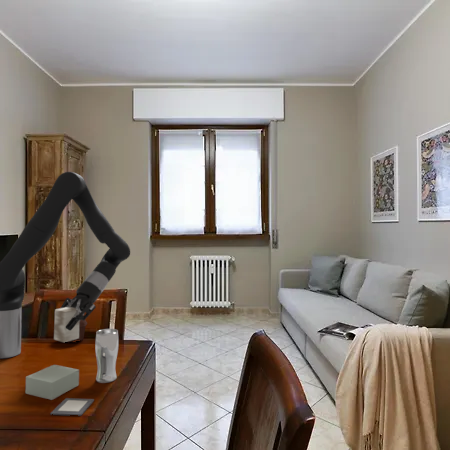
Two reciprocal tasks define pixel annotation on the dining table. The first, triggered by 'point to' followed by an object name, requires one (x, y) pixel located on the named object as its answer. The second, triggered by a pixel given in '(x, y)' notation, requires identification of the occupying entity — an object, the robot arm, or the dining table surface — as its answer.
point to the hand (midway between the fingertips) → (62, 327)
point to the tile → (72, 407)
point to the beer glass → (106, 354)
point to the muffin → (81, 330)
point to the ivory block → (60, 325)
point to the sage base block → (52, 381)
